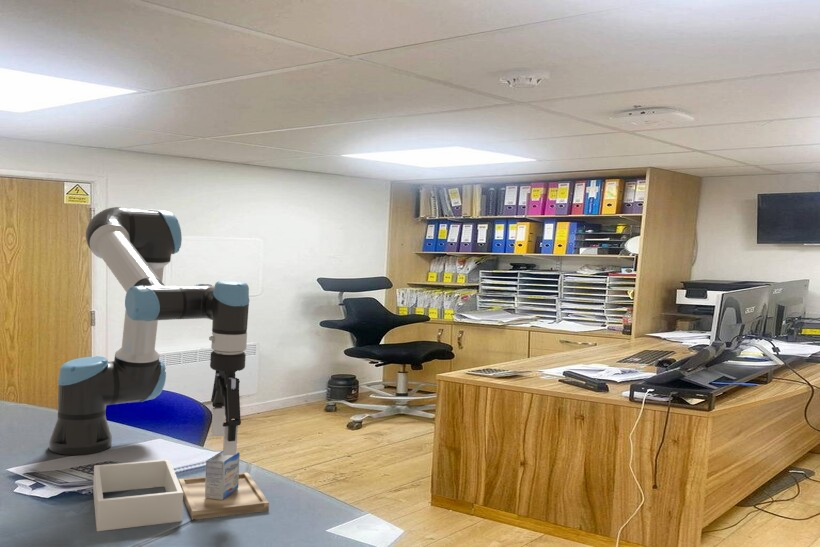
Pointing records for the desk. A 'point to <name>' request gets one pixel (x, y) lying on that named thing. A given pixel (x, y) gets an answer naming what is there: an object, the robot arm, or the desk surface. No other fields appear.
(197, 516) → the oak tray
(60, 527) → the desk surface
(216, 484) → the medicine box
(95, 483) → the deep bin
